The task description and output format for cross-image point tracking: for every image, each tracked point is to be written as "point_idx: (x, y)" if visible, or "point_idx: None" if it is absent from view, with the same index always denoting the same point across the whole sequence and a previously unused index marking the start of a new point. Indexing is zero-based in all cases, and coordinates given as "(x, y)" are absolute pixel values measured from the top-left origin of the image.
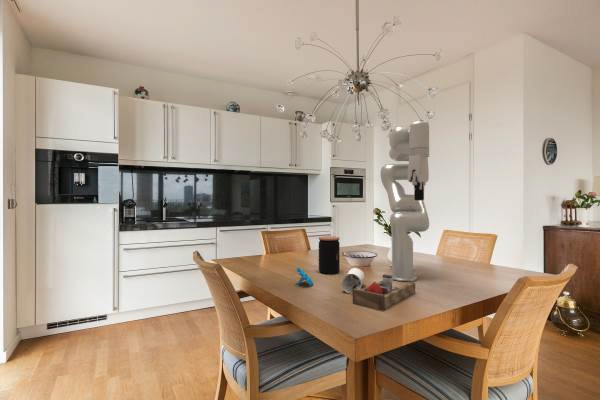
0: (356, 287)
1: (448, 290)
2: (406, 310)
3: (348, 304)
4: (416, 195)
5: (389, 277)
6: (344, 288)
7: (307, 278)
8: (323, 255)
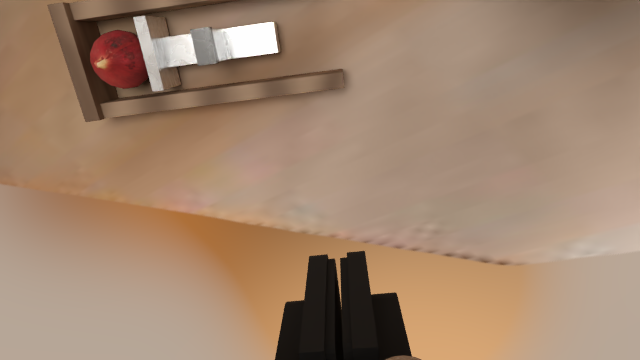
0: None
1: (454, 145)
2: (167, 156)
3: None
4: (284, 329)
5: (198, 62)
6: None
7: None
8: None
